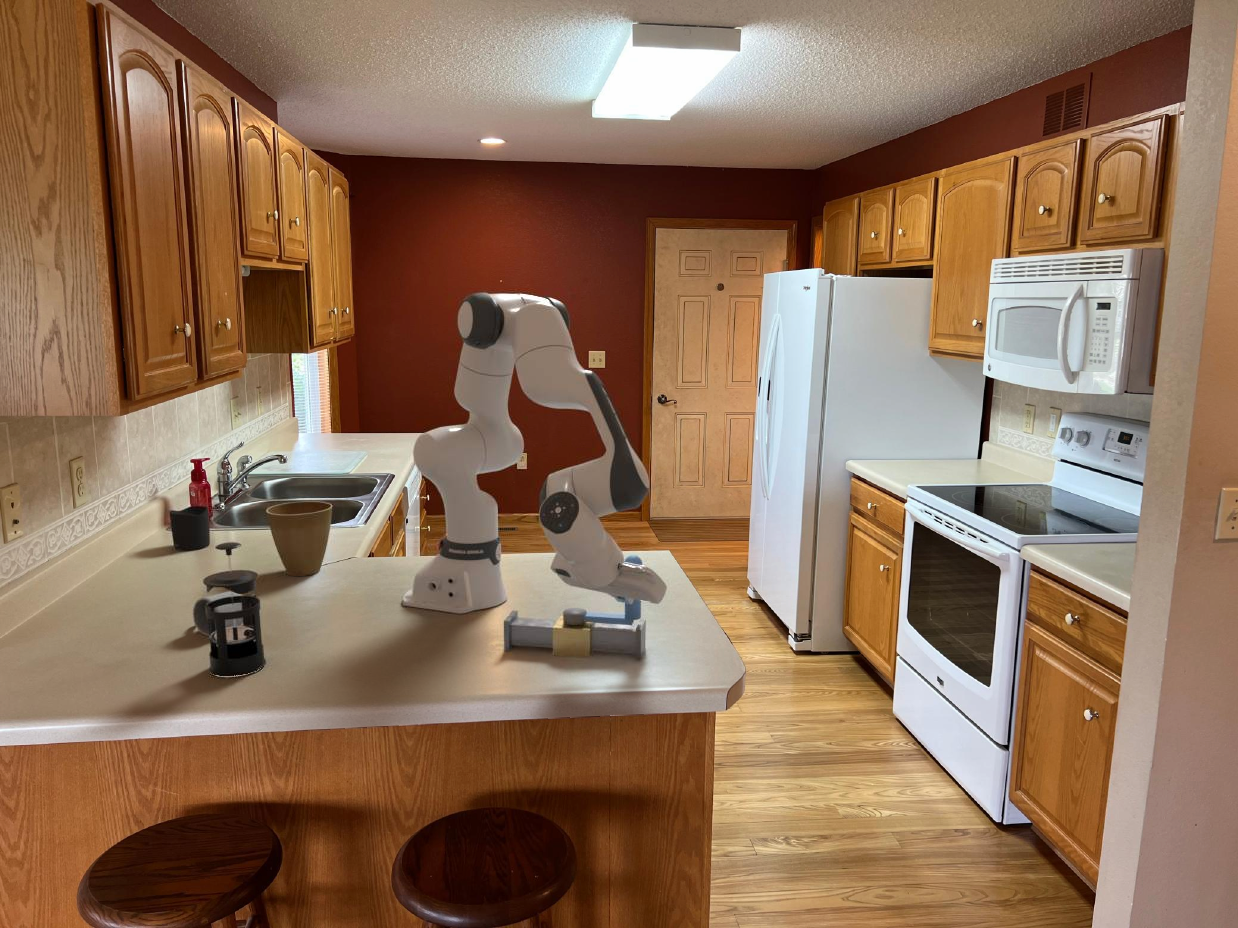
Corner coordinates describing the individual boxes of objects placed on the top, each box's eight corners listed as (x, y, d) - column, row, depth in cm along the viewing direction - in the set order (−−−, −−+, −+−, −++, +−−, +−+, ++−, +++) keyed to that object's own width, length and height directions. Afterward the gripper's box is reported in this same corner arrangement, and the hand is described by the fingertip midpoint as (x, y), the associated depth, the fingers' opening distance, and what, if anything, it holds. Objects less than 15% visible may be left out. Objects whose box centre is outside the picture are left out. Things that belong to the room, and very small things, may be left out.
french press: (247, 681, 157) (237, 553, 153) (196, 678, 158) (185, 551, 154) (280, 654, 168) (271, 535, 164) (232, 652, 169) (222, 533, 165)
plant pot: (349, 568, 221) (345, 505, 217) (298, 585, 208) (293, 517, 205) (308, 559, 228) (304, 497, 225) (257, 574, 216) (252, 509, 213)
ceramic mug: (253, 625, 183) (250, 589, 182) (219, 639, 176) (216, 601, 174) (217, 618, 188) (213, 582, 186) (182, 631, 180) (179, 594, 179)
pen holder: (177, 542, 243) (173, 506, 241) (214, 540, 245) (211, 504, 243) (168, 552, 234) (165, 515, 232) (207, 550, 236) (204, 513, 234)
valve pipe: (503, 651, 170) (503, 621, 169) (513, 639, 176) (512, 609, 175) (640, 661, 166) (640, 630, 165) (645, 648, 172) (645, 618, 171)
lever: (560, 624, 168) (560, 554, 166) (566, 616, 172) (565, 548, 170) (640, 629, 166) (640, 559, 163) (643, 621, 170) (644, 552, 167)
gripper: (656, 554, 151) (682, 594, 161) (557, 536, 162) (588, 575, 172) (642, 587, 148) (670, 625, 158) (542, 567, 159) (574, 604, 169)
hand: (626, 599), depth 165 cm, fingers closed
